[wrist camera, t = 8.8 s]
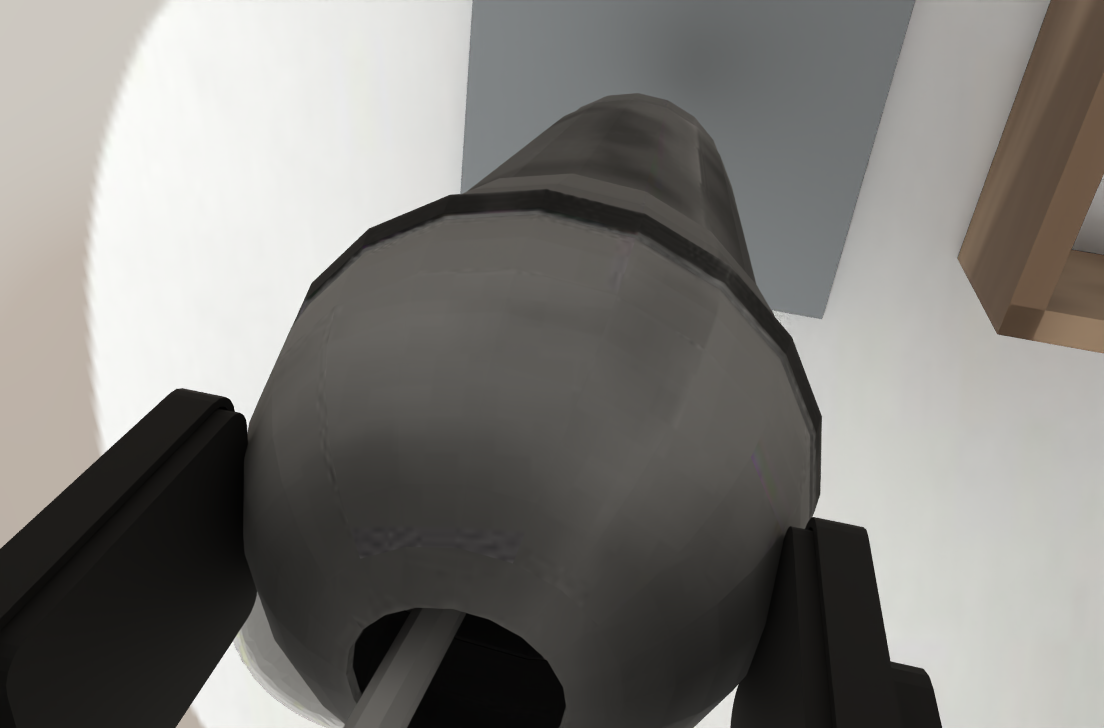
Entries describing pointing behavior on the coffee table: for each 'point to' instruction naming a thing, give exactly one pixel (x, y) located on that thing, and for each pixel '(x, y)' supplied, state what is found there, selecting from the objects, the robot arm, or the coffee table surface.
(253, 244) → the coffee table surface
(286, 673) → the teacup
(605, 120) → the beverage cup
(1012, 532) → the coffee table surface
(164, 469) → the robot arm
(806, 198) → the slate mat
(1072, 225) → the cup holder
